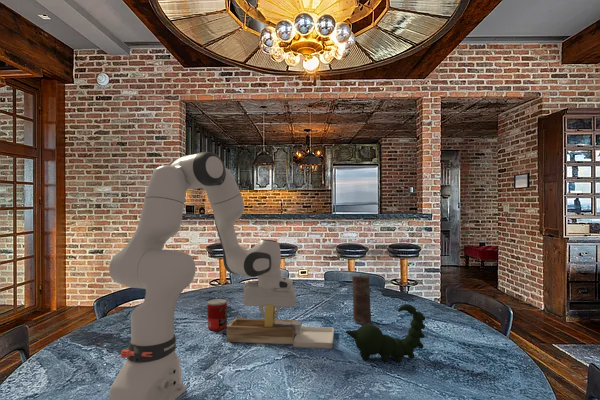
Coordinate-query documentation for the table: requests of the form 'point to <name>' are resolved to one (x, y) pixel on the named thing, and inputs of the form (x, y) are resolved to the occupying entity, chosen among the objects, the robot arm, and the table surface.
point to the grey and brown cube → (296, 327)
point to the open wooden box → (258, 332)
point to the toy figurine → (390, 339)
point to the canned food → (217, 314)
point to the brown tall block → (361, 299)
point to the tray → (315, 338)
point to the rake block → (269, 315)
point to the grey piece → (286, 323)
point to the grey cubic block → (277, 323)
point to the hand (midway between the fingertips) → (270, 317)
